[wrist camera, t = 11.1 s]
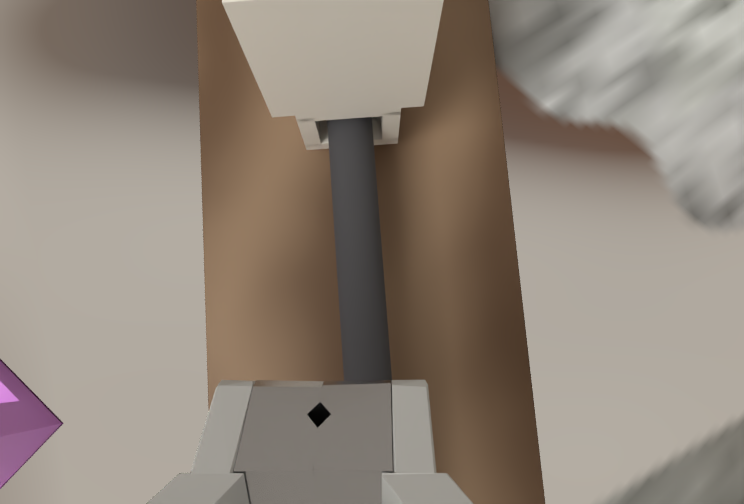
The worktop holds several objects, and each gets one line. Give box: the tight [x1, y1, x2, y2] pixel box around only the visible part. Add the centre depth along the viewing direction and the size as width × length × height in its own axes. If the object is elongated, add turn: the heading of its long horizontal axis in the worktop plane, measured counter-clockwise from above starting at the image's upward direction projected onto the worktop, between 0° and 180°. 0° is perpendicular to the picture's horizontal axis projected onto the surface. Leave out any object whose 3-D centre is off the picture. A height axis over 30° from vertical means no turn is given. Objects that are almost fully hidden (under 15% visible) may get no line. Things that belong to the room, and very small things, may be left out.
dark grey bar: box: [327, 117, 392, 381], centre depth 22 cm, size 5×29×4 cm, turn 4°
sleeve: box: [222, 0, 444, 150], centre depth 19 cm, size 5×4×10 cm
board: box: [196, 0, 545, 504], centre depth 25 cm, size 12×30×1 cm, turn 4°
